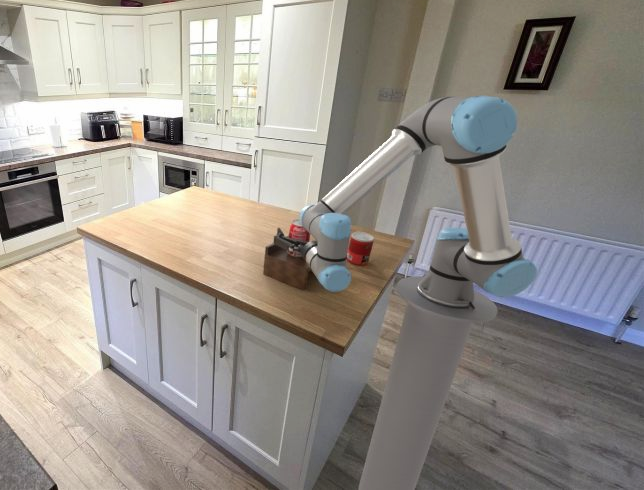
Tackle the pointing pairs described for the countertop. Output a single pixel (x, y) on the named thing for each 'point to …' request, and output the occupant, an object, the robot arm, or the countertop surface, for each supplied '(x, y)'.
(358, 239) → the canned food
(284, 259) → the shelf
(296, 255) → the soda can
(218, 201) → the countertop surface
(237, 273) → the countertop surface
